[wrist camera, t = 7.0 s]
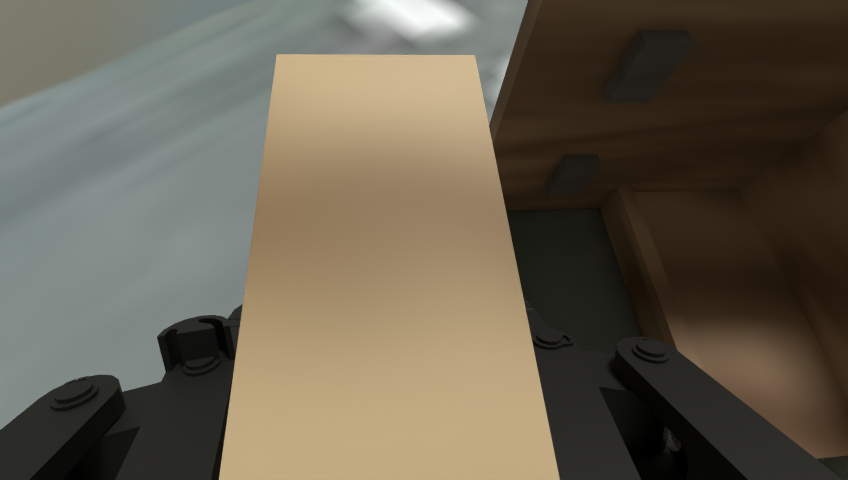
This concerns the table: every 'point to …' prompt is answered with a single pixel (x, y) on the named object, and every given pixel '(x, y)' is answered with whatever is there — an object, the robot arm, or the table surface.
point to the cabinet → (703, 180)
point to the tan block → (383, 286)
